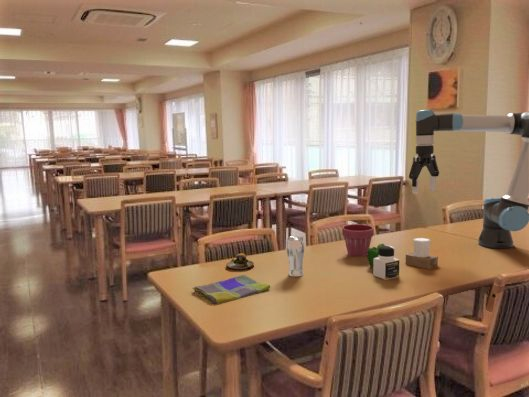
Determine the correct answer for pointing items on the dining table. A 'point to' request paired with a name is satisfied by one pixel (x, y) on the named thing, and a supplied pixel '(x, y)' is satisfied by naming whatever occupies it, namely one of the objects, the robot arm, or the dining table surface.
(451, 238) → the dining table surface
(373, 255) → the bell pepper
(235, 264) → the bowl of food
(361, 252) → the plant pot
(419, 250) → the white cup
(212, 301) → the dish towel
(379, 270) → the medicine bottle
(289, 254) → the beer glass
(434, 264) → the walnut base block
